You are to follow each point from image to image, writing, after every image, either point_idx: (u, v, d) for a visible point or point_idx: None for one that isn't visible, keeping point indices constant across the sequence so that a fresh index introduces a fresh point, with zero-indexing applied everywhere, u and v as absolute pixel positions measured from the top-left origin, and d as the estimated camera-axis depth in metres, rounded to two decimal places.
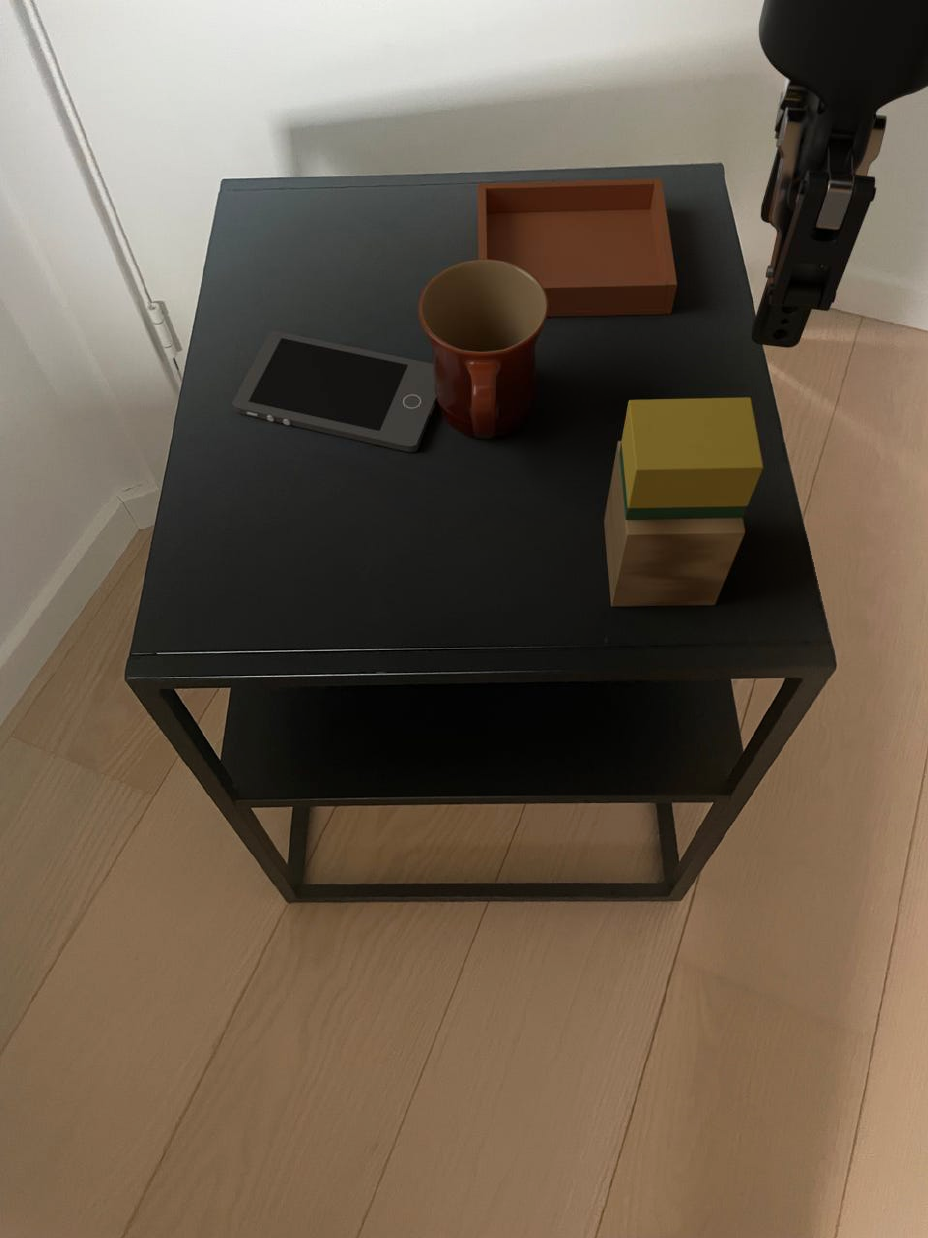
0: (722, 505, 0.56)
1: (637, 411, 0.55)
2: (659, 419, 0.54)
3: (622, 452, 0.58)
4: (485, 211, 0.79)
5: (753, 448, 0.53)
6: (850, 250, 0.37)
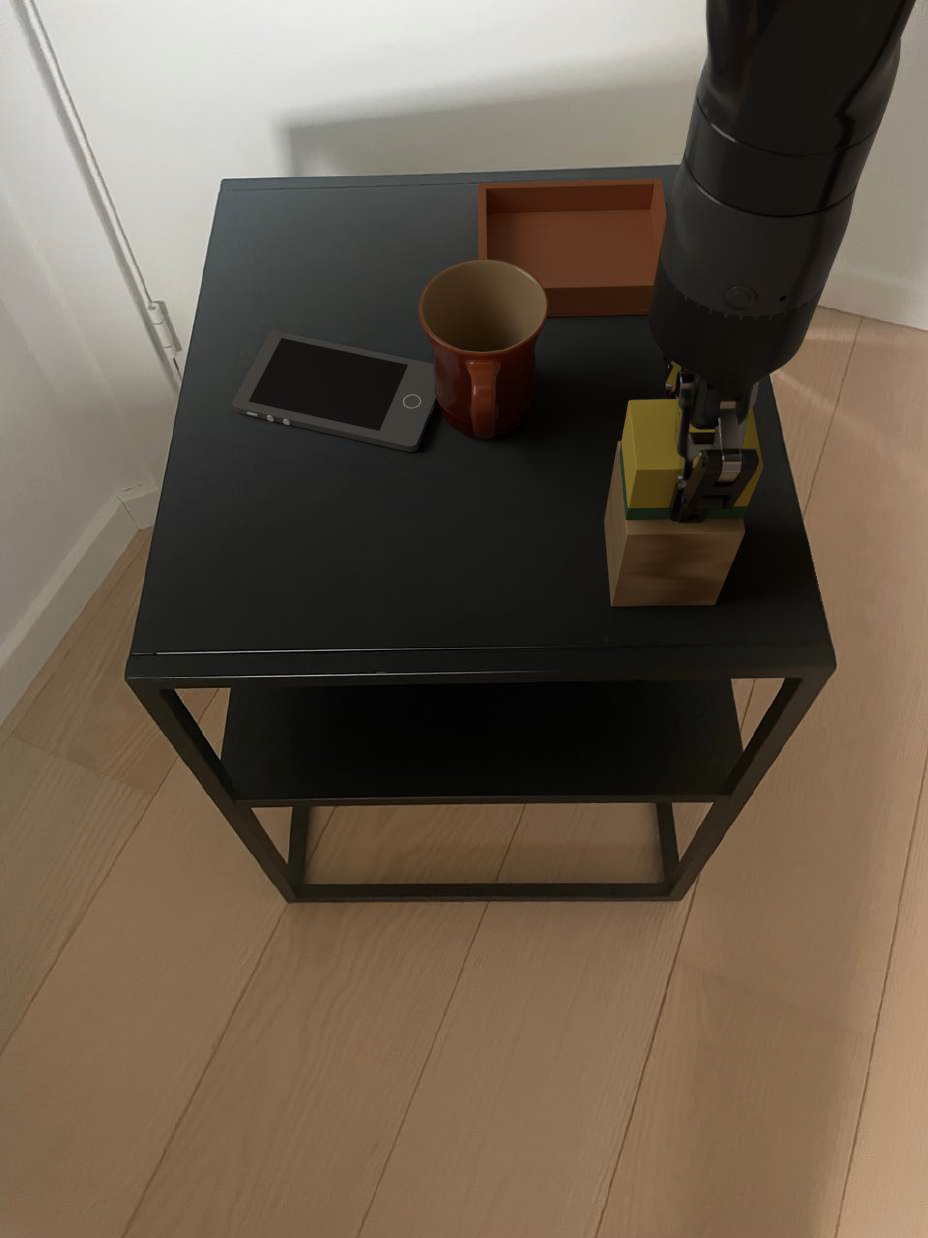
0: None
1: (637, 411, 0.55)
2: (659, 419, 0.54)
3: (622, 452, 0.58)
4: (485, 211, 0.79)
5: None
6: (743, 489, 0.48)
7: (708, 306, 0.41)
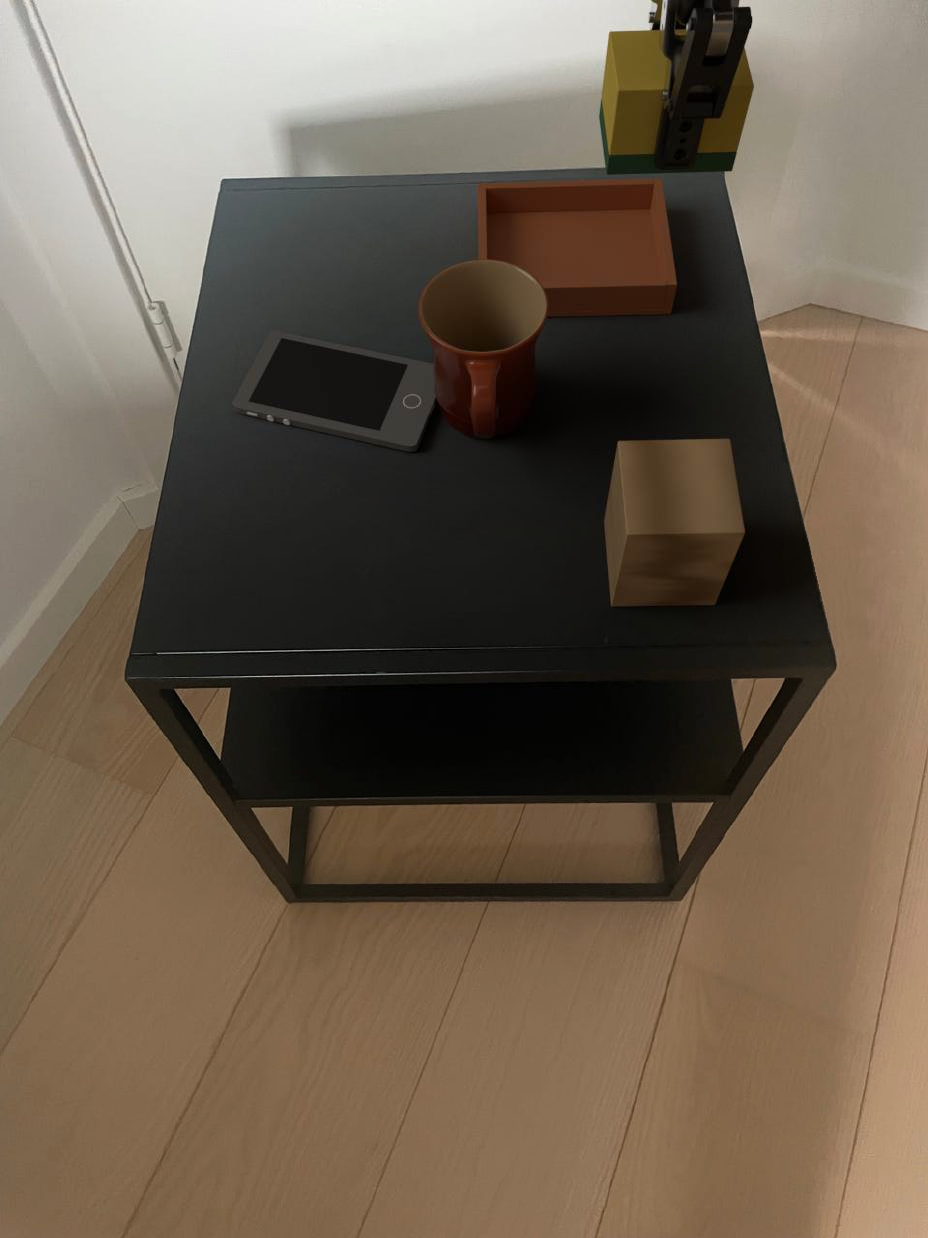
0: (709, 149, 0.52)
1: (618, 40, 0.51)
2: (641, 47, 0.50)
3: (602, 107, 0.54)
4: (485, 211, 0.79)
5: (743, 70, 0.49)
6: (735, 70, 0.44)
7: None
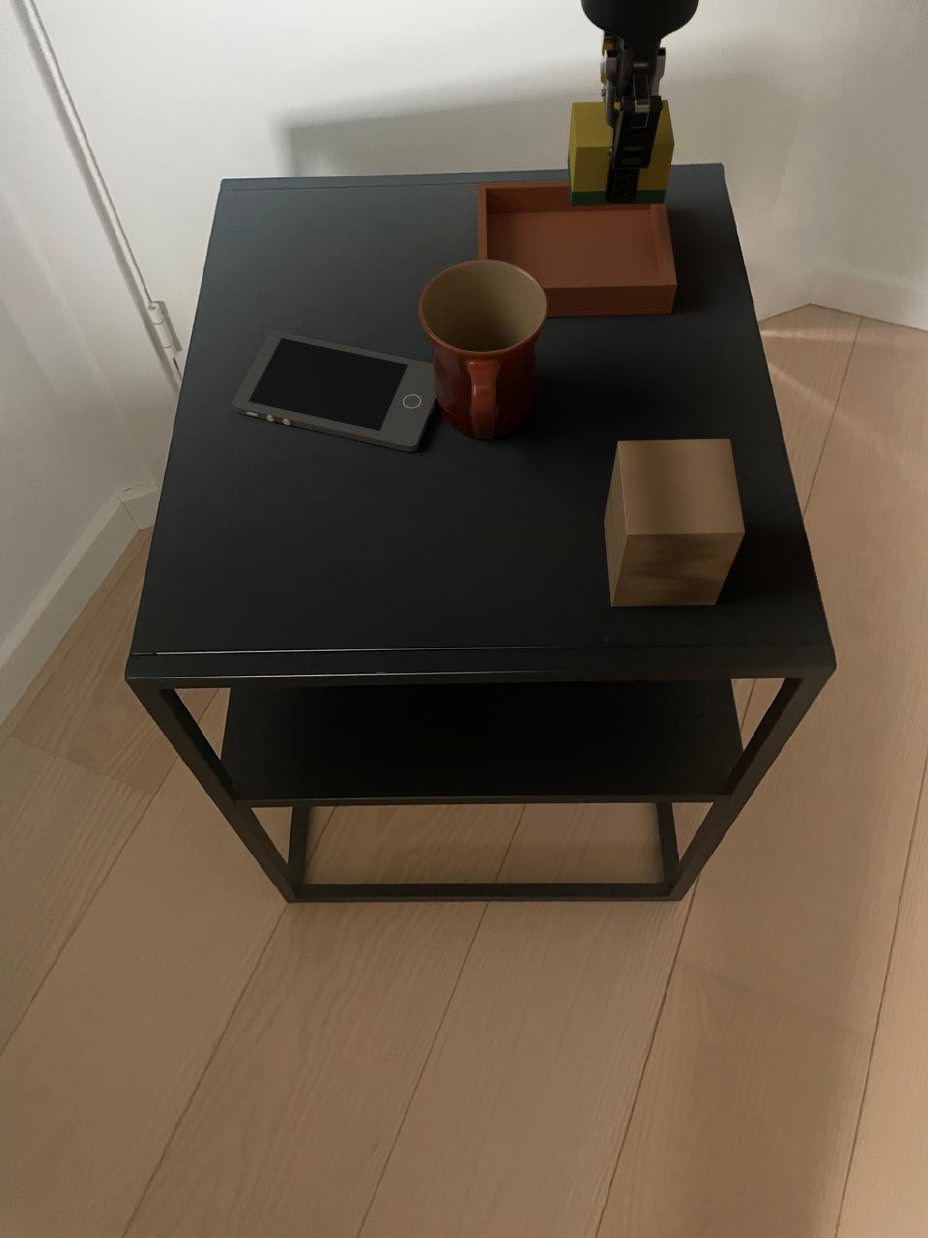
0: (645, 187, 0.71)
1: (578, 109, 0.70)
2: (595, 114, 0.69)
3: (569, 156, 0.73)
4: (485, 211, 0.79)
5: (667, 132, 0.68)
6: (654, 137, 0.63)
7: None
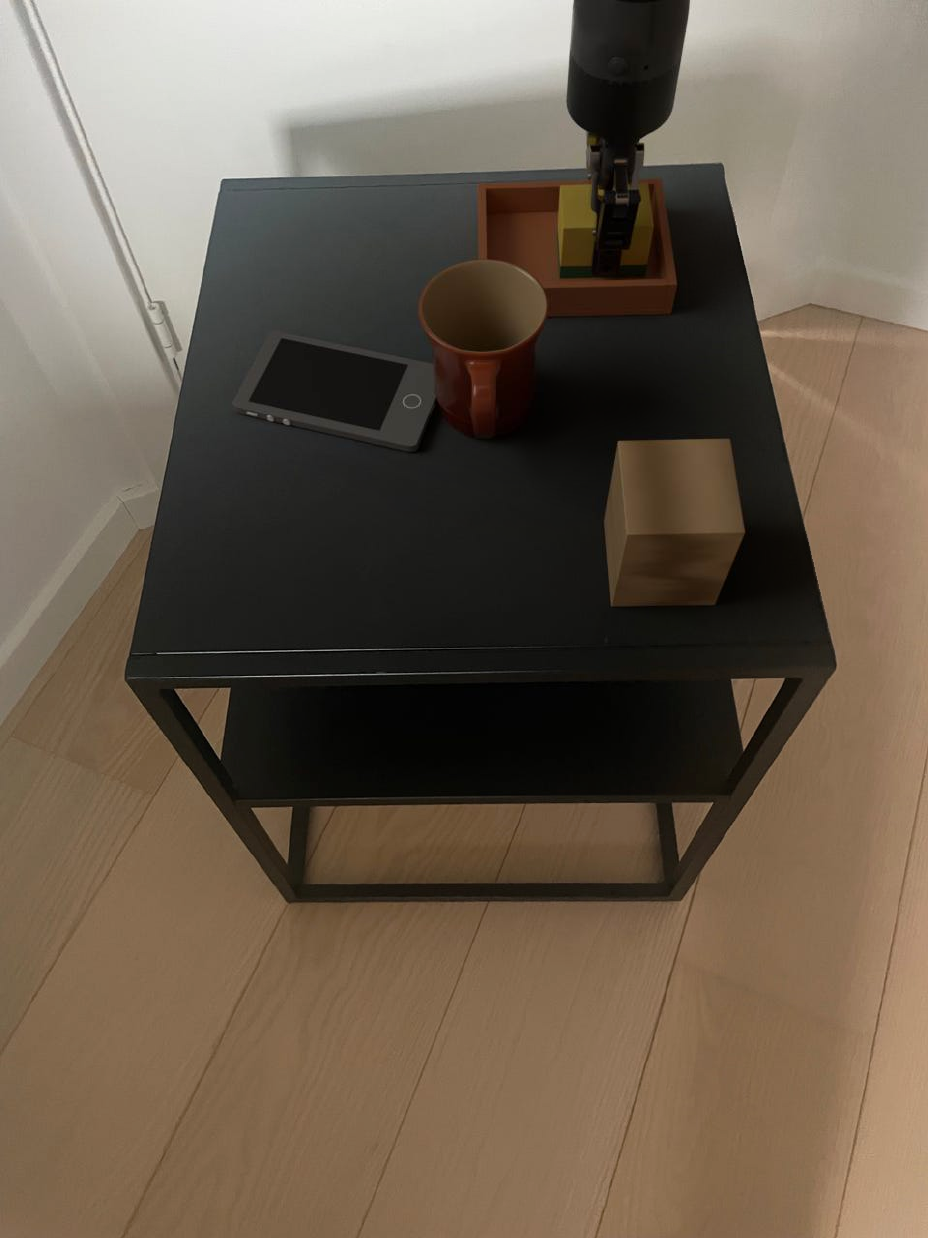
0: (628, 263, 0.77)
1: (566, 192, 0.76)
2: (581, 196, 0.75)
3: None
4: (485, 211, 0.79)
5: (647, 214, 0.74)
6: (633, 224, 0.69)
7: (599, 76, 0.63)
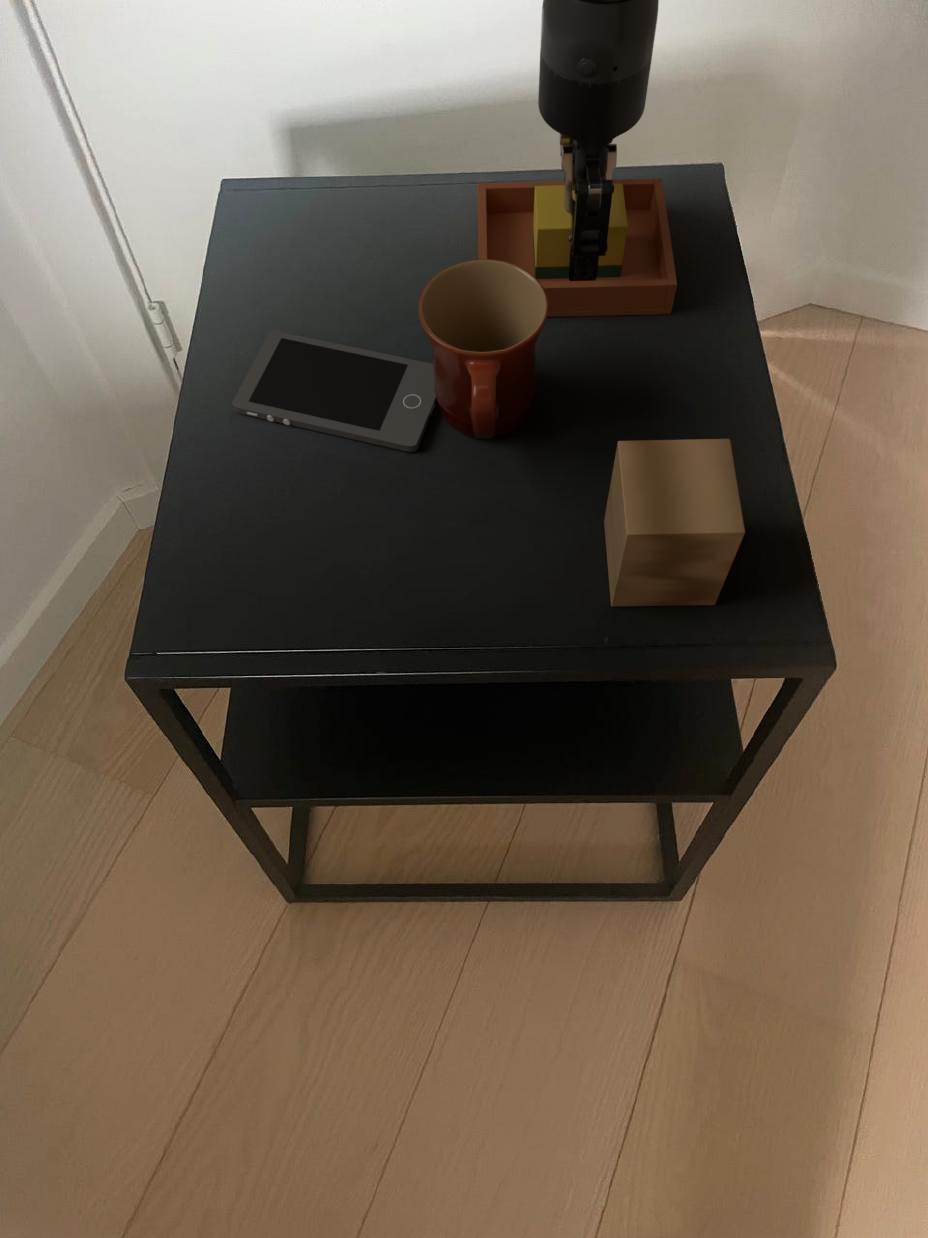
0: (603, 263, 0.77)
1: (540, 193, 0.76)
2: (555, 197, 0.76)
3: (533, 232, 0.79)
4: (485, 211, 0.79)
5: (621, 214, 0.74)
6: (608, 220, 0.68)
7: (568, 77, 0.63)
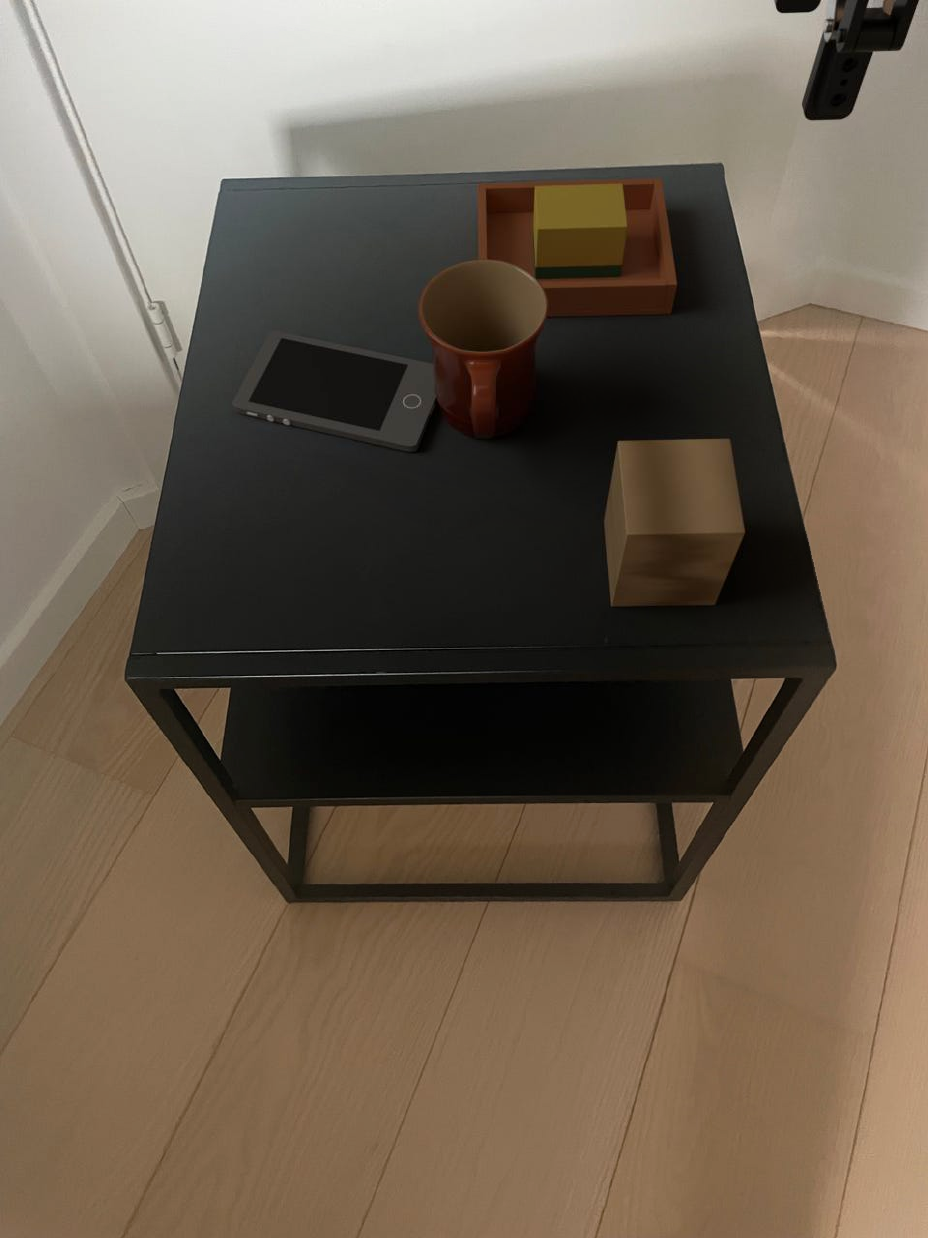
0: (603, 263, 0.77)
1: (540, 193, 0.76)
2: (555, 197, 0.76)
3: (533, 232, 0.79)
4: (485, 211, 0.79)
5: (621, 214, 0.74)
6: None
7: None
